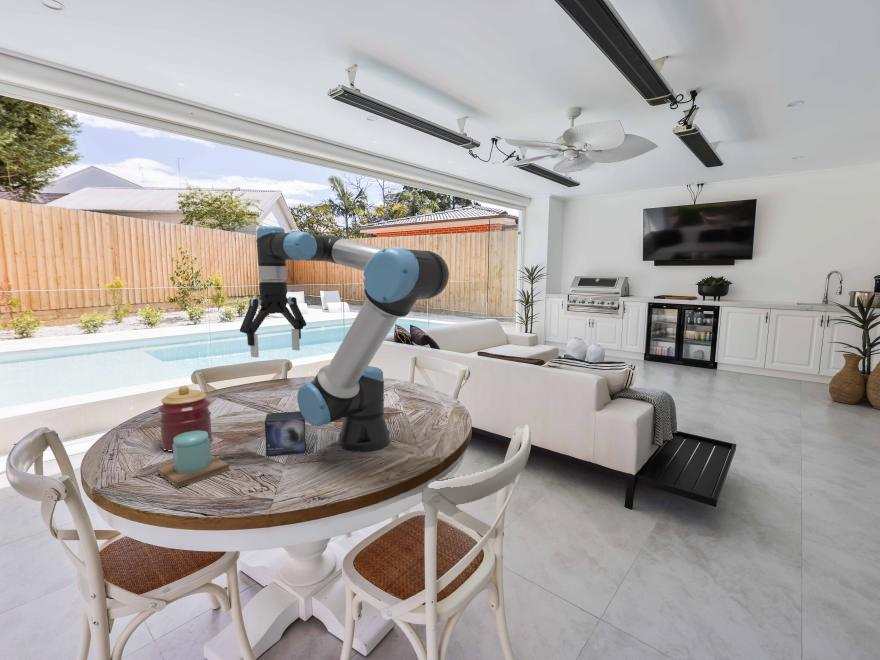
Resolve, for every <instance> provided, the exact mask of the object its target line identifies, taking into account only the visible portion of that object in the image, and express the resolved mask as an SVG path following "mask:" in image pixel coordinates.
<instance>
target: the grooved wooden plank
mask: <svg viewBox="0 0 880 660" xmlns="http://www.w3.org/2000/svg"><path fill="white" fill-rule="evenodd" d="M229 470H230V464H229V463H227V462H225V461H224V460H221V459H220V458H218V457H216V456H214V455H212V454H211V464H210V465H209V466H208V467H207V468H206V469H204V470H200V471H197V472H194V473H178V472H177V471H175V470H174V462H172V463H170V464H166V465H164V466H160V467H156V473H157V472H158V473H159V474H160V475H162V476H163V477H164V478H166V479H167V480H168V481H170V482H171V483H173V484H174V485H175V486H177V487H182V486H184V487H186V486H185V485H187V486H189V485H188V484H190V485H192V484H195V483H198V482H200V480H201V481H203V480H206V479H209V478H210V477H213V476H216V475H219V474H222V473H225V472H227V471H229ZM164 478H163V479H164ZM167 480H166V481H167ZM168 481H167V482H168ZM197 481H198V482H197ZM194 482H195V483H194ZM171 483H170V484H171ZM191 483H192V484H191ZM174 485H173V486H174ZM175 486H174V487H175ZM177 487H176V488H177ZM182 488H183V487H182Z"/></svg>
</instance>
